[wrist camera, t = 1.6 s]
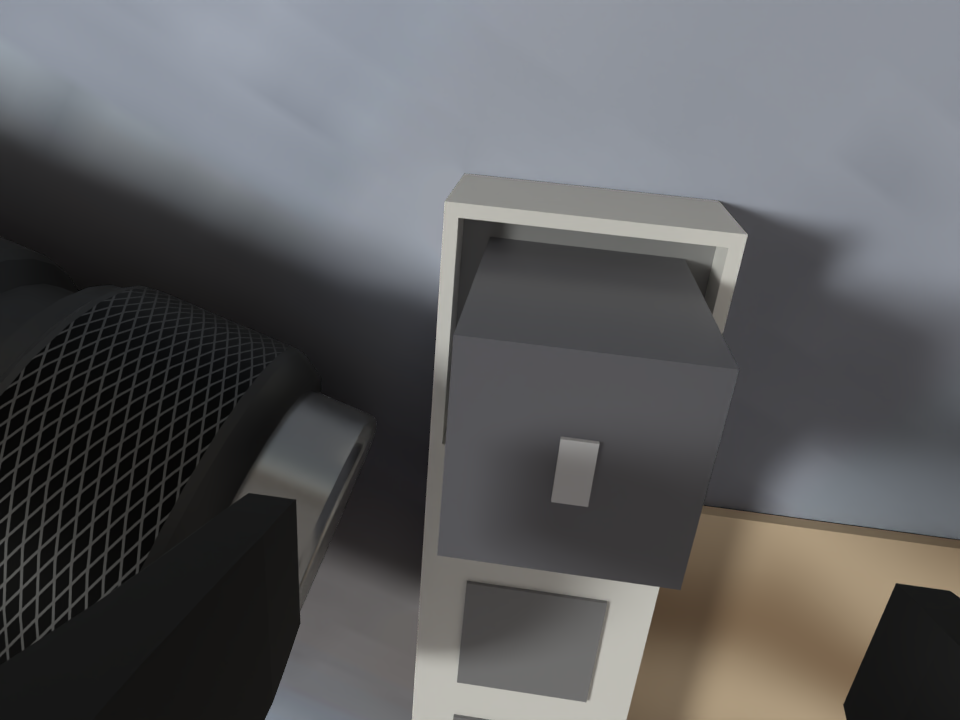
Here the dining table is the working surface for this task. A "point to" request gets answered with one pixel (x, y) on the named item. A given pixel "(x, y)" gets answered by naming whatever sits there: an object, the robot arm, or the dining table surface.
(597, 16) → the dining table surface
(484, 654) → the socket strip
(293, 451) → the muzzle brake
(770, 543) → the coaster
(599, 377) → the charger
